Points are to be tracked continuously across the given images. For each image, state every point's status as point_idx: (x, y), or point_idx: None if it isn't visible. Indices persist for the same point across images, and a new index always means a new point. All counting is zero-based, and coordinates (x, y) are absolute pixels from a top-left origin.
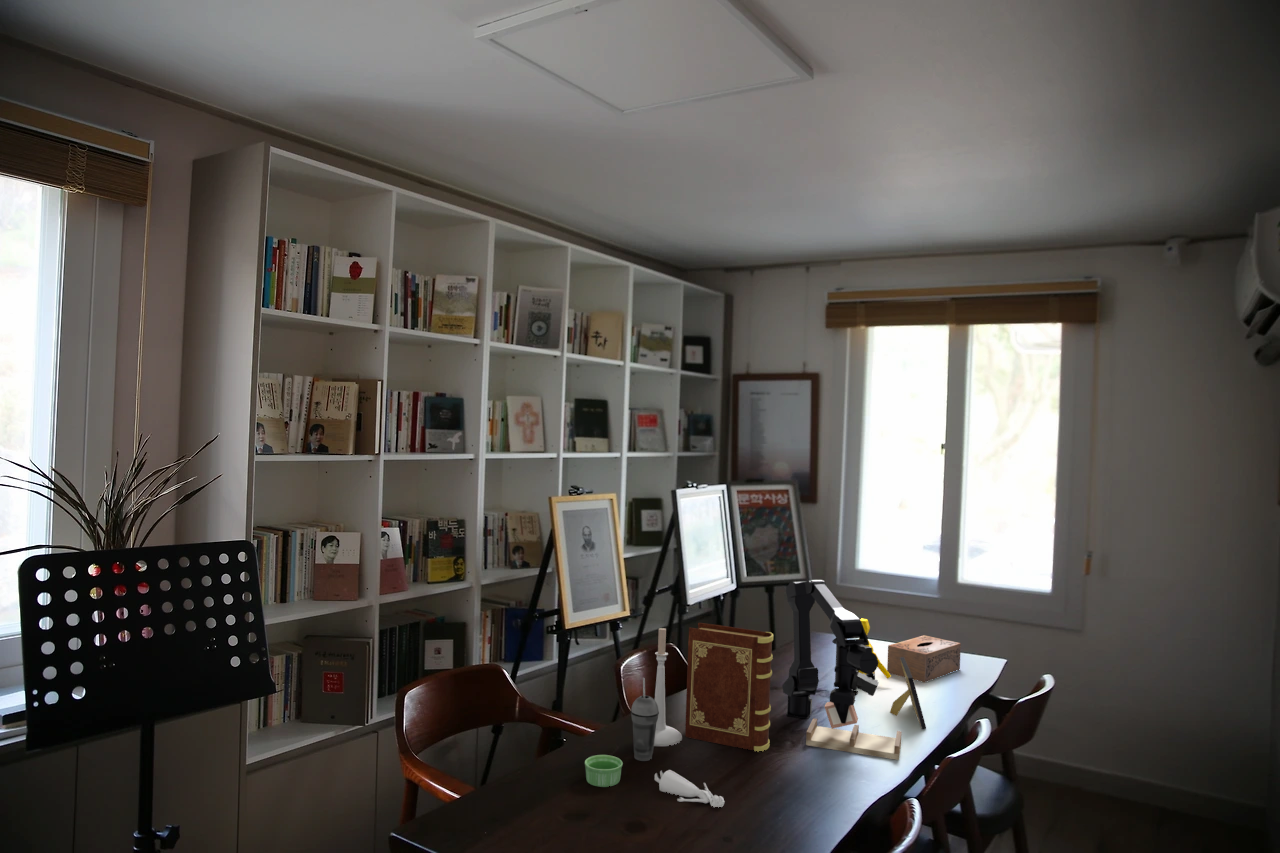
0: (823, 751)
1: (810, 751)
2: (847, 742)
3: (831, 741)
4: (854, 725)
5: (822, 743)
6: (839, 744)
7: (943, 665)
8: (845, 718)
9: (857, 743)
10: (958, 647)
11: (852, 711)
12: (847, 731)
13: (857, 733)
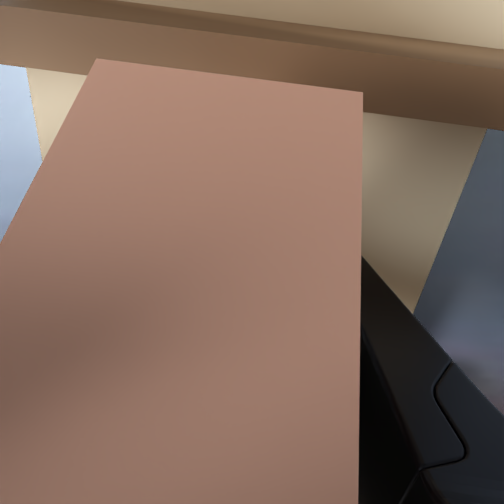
0: (483, 278)
1: (491, 348)
2: (380, 119)
3: (385, 253)
4: (10, 60)
5: (412, 305)
6: (453, 194)
7: None
8: (390, 300)
9: (391, 7)
10: None
11: (357, 283)
12: (58, 111)
13: (137, 9)
